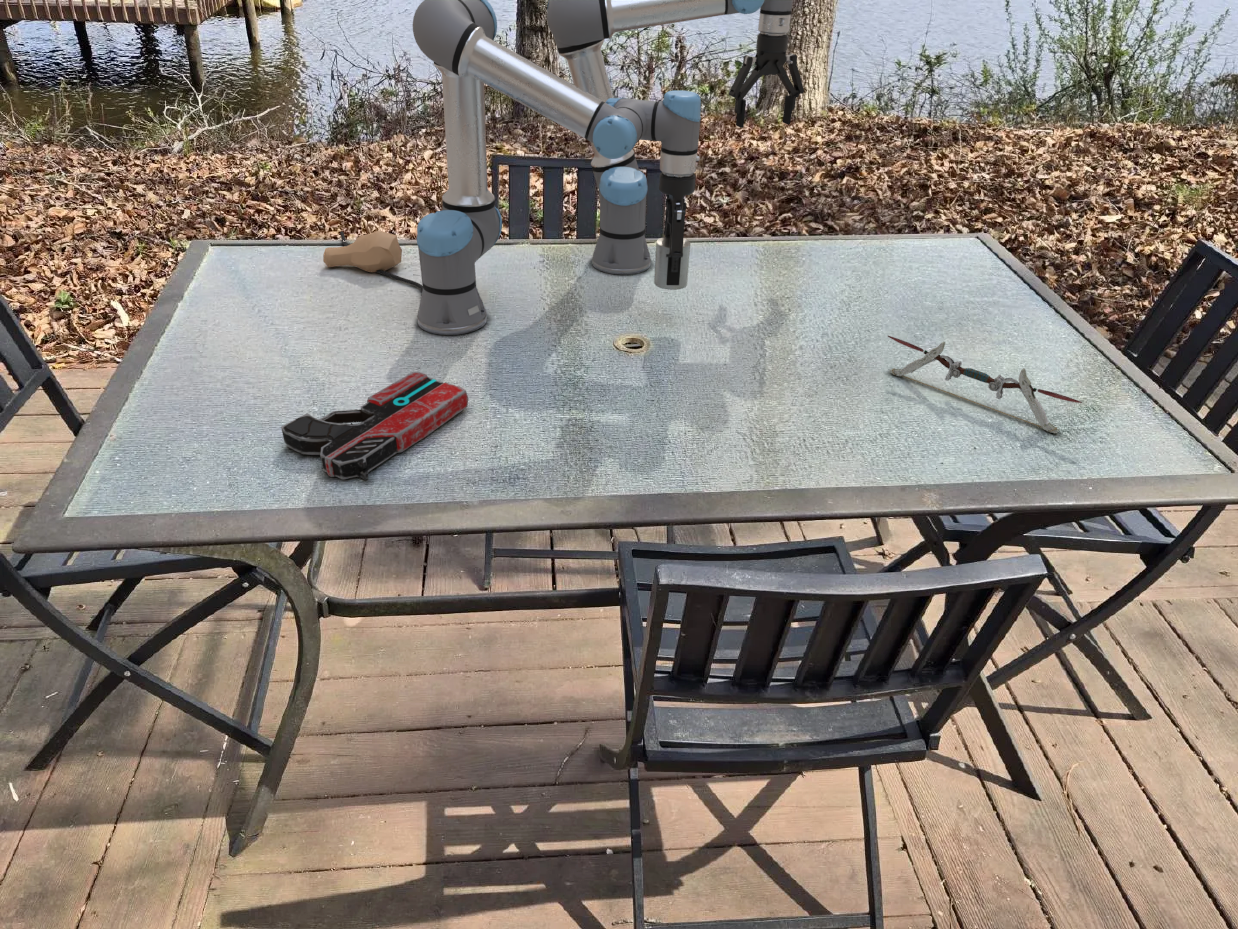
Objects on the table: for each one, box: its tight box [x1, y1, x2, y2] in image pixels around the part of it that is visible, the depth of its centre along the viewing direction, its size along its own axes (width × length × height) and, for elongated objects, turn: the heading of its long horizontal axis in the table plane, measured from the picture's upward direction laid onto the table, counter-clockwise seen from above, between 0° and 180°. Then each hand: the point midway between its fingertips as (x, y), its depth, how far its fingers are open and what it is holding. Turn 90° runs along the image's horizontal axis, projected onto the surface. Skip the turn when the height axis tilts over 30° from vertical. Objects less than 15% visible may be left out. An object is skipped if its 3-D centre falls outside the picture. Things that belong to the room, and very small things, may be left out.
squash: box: [322, 230, 403, 273], centre depth 220 cm, size 11×20×9 cm, turn 90°
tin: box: [653, 236, 691, 291], centre depth 192 cm, size 7×7×9 cm
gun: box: [280, 371, 469, 481], centre depth 156 cm, size 4×31×19 cm
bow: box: [887, 335, 1083, 434], centre depth 169 cm, size 39×2×10 cm, turn 47°
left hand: (670, 277), depth 194 cm, fingers closed on tin, 7 cm apart
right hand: (763, 124), depth 224 cm, fingers open, 13 cm apart
